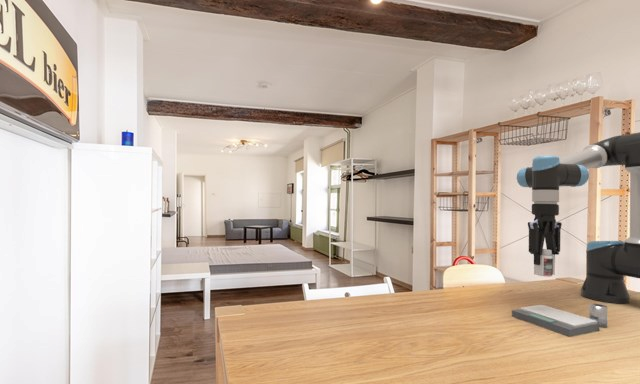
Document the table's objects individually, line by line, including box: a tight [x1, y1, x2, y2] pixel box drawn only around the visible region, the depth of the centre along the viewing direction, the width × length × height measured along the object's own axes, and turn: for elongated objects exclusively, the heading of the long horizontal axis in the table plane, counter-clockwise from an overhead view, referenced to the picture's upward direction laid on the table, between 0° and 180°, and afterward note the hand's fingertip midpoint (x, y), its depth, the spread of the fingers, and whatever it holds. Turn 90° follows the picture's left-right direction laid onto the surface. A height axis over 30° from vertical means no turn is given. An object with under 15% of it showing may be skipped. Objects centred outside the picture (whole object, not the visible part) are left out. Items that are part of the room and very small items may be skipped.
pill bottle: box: [538, 248, 553, 278], centre depth 114 cm, size 5×5×8 cm
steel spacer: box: [588, 303, 608, 328], centre depth 108 cm, size 4×4×6 cm
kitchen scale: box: [511, 304, 600, 338], centre depth 109 cm, size 14×18×3 cm
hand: (544, 274), depth 113 cm, fingers closed on pill bottle, 5 cm apart
